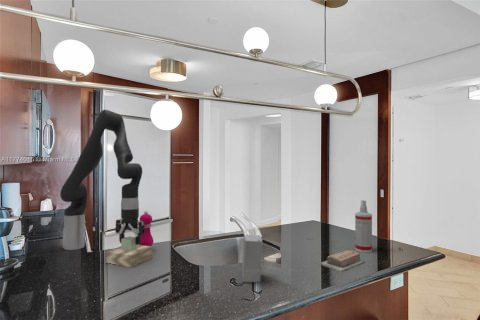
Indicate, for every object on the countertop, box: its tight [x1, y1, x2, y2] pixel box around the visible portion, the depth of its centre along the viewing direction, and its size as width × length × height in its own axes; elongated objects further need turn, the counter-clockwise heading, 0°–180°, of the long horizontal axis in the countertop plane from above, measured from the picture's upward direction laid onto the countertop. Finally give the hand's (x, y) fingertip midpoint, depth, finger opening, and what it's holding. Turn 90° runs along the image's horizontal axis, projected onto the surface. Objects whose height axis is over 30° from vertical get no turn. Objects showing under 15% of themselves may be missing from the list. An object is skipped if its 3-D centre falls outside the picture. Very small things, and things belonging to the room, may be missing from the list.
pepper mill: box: [138, 210, 154, 247], centre depth 149 cm, size 7×7×20 cm
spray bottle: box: [354, 200, 373, 253], centre depth 151 cm, size 8×8×25 cm
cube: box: [120, 236, 139, 251], centre depth 135 cm, size 5×5×5 cm
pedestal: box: [105, 244, 154, 268], centre depth 135 cm, size 14×14×5 cm
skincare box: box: [241, 234, 263, 283], centre depth 114 cm, size 8×7×16 cm
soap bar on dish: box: [320, 249, 365, 272], centre depth 131 cm, size 18×5×10 cm
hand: (129, 243), depth 135 cm, fingers open, 8 cm apart
